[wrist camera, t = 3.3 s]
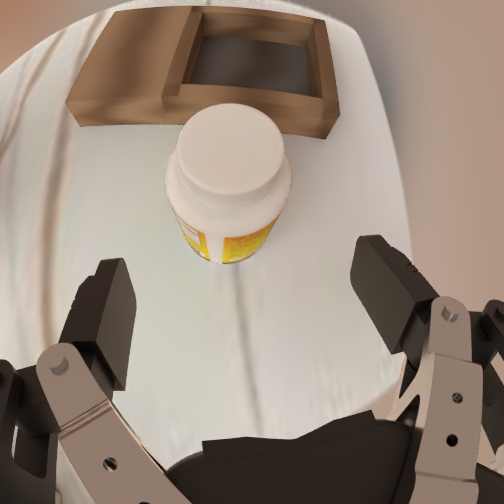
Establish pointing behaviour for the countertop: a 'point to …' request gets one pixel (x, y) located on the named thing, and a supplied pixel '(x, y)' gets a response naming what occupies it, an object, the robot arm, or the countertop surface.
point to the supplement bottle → (228, 181)
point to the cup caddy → (208, 68)
